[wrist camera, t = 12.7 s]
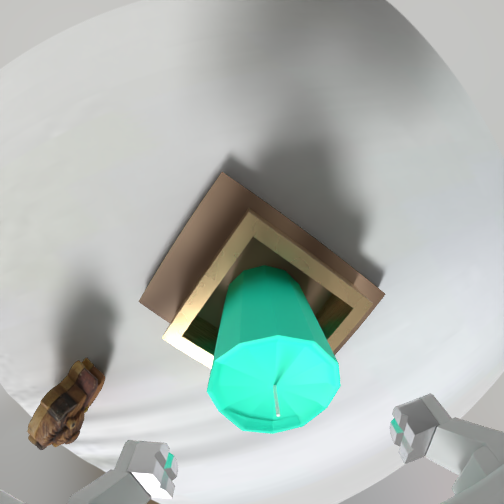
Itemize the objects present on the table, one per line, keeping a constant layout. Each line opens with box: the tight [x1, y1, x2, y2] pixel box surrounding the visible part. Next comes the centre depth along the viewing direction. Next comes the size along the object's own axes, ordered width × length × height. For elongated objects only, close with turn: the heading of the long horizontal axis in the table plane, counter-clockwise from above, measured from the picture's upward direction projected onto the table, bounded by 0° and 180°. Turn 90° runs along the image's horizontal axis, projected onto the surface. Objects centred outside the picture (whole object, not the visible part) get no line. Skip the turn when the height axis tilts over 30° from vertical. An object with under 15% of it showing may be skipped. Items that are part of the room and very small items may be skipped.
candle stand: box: [139, 172, 385, 368], centre depth 21 cm, size 16×12×6 cm
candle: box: [207, 265, 341, 434], centre depth 16 cm, size 6×6×12 cm
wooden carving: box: [28, 358, 105, 450], centre depth 21 cm, size 16×5×10 cm, turn 145°
